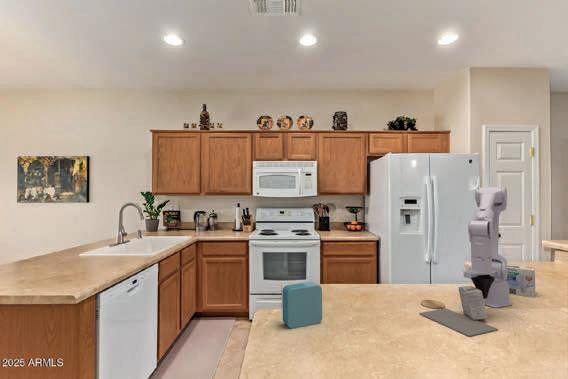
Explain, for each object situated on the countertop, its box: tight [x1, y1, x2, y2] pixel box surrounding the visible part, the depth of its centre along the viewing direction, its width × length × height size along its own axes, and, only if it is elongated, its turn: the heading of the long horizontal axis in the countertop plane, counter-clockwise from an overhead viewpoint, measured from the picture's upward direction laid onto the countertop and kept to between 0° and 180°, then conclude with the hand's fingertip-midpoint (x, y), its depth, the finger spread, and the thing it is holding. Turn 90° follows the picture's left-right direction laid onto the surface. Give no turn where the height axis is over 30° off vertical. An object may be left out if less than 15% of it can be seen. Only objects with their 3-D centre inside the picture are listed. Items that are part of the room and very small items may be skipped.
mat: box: [418, 307, 499, 338], centre depth 93 cm, size 12×18×1 cm, turn 21°
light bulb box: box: [505, 264, 536, 299], centre depth 121 cm, size 11×7×11 cm, turn 49°
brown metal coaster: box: [420, 299, 446, 310], centre depth 108 cm, size 8×8×1 cm
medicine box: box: [458, 285, 488, 321], centre depth 97 cm, size 8×4×9 cm, turn 168°
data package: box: [281, 281, 323, 329], centre depth 93 cm, size 12×4×12 cm, turn 114°
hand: (482, 297), depth 98 cm, fingers closed
